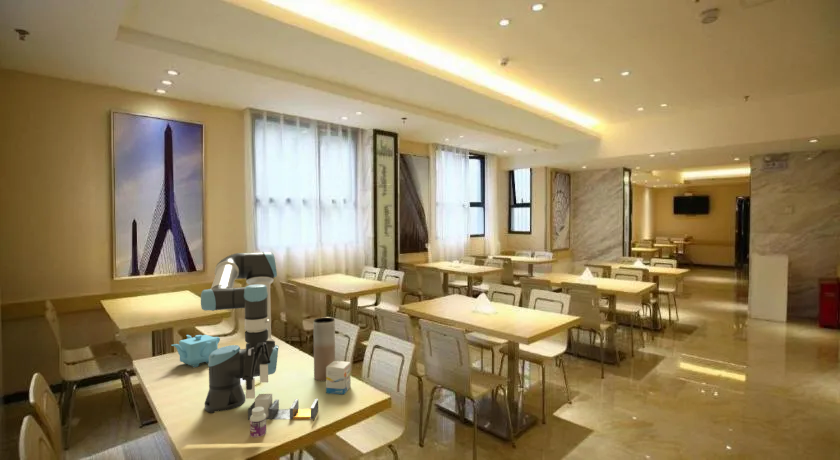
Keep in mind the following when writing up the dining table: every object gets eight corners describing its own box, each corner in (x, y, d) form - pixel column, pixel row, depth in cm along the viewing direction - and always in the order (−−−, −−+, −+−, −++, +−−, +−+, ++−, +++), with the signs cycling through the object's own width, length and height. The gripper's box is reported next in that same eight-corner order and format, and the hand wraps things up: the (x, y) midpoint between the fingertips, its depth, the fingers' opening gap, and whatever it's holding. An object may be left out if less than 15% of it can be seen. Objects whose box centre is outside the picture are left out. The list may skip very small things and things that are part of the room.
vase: (323, 372, 208) (322, 316, 207) (339, 375, 203) (338, 318, 202) (309, 379, 199) (308, 321, 198) (326, 382, 194) (325, 323, 193)
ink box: (344, 394, 181) (343, 368, 181) (325, 393, 183) (325, 366, 182) (351, 386, 190) (350, 361, 189) (333, 385, 191) (333, 360, 191)
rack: (247, 422, 157) (247, 409, 157) (255, 412, 165) (255, 399, 165) (313, 421, 158) (313, 408, 158) (318, 411, 166) (318, 398, 166)
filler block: (255, 417, 159) (254, 399, 159) (259, 411, 164) (259, 393, 164) (268, 417, 159) (268, 399, 159) (272, 411, 164) (272, 393, 164)
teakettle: (222, 356, 232) (221, 329, 232) (211, 368, 214) (211, 339, 213) (185, 358, 229) (184, 331, 228) (171, 370, 210) (170, 341, 210)
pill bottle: (246, 438, 146) (246, 411, 146) (257, 431, 151) (257, 404, 151) (259, 441, 144) (258, 413, 144) (269, 433, 149) (269, 407, 149)
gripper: (254, 339, 134) (255, 405, 135) (278, 320, 159) (279, 376, 160) (230, 340, 134) (232, 405, 134) (258, 320, 159) (259, 376, 159)
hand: (257, 389), depth 147 cm, fingers open, 13 cm apart
